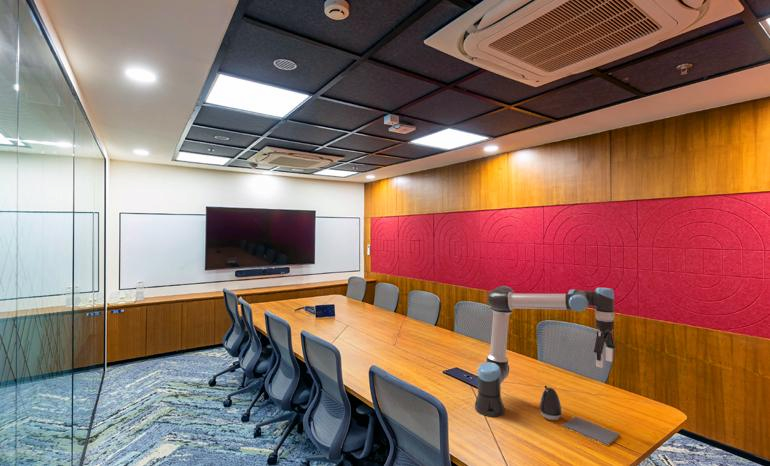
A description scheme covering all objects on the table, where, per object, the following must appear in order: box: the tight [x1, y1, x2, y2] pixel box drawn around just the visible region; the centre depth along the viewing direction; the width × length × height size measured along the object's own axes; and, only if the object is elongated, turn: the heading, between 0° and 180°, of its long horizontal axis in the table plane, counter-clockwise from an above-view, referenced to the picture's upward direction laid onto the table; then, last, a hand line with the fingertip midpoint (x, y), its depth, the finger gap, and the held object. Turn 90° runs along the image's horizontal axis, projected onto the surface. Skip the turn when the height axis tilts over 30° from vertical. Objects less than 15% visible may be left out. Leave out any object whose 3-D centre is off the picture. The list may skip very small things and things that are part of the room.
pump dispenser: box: [539, 385, 563, 421], centre depth 180 cm, size 10×10×15 cm
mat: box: [562, 416, 621, 446], centre depth 167 cm, size 13×20×1 cm, turn 36°
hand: (604, 364), depth 171 cm, fingers open, 13 cm apart
